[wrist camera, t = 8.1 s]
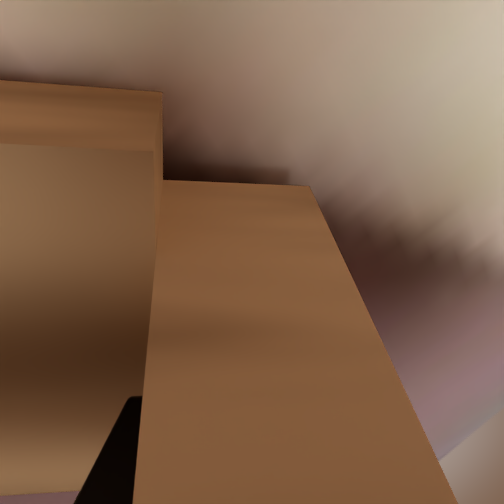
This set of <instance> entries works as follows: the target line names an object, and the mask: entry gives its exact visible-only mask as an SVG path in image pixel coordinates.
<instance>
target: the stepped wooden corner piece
mask: <svg viewBox="0 0 504 504" xmlns="http://www.w3.org/2000/svg"><path fill="white" fill-rule="evenodd" d="M142 395H143V399H142V409H141V420H140V431H139V441H138V452H137V462H136V473H135V484H134V494H133V504H458V503H457V501H456V498H455V496H454V494H453V492H452V490H451V488H450V486H449V483H448V481H447V479H446V477H445V475H444V473H443V470H442V468H441V466H440V464H439V462H438V460H437V458H436V456H435V453H434V451H433V449H432V447H431V445H430V443H429V441H428V438H427V436H426V434H425V432H424V430H423V428H422V426H421V423H420V421H419V419H418V417H417V415H416V413H415V411H414V409H413V406H412V404H411V402H410V400H409V398H408V396H407V394H406V391H405V389H404V387H403V385H402V383H401V381H400V379H399V377H398V374H397V372H396V370H395V368H394V366H393V364H392V362H391V359H390V357H389V355H388V353H387V351H386V349H385V347H384V344H383V342H382V340H381V338H380V336H379V334H378V332H377V330H376V327H375V325H374V323H373V321H372V319H371V317H370V315H369V312H368V310H367V308H366V306H365V304H364V302H363V300H362V297H361V295H360V293H359V291H358V289H357V287H356V285H355V283H354V280H353V278H352V276H351V274H350V272H349V270H348V268H347V265H346V263H345V261H344V259H343V257H342V255H341V253H340V251H339V248H338V246H337V244H336V242H335V240H334V238H333V236H332V233H331V231H330V229H329V227H328V225H327V223H326V221H325V218H324V216H323V214H322V212H321V210H320V208H319V206H318V204H317V201H316V199H315V197H314V195H313V193H312V191H311V189H310V186H293V185H270V184H246V183H223V182H200V181H176V180H163V125H162V92H155V91H141V90H128V89H114V88H101V87H87V86H73V85H60V84H46V83H32V82H19V81H5V80H0V496H4V495H20V494H36V493H52V492H67V491H80V490H81V488H82V486H83V484H84V482H85V480H86V478H87V476H88V474H89V472H90V471H91V469H92V467H93V465H94V463H95V461H96V459H97V457H98V455H99V453H100V451H101V449H102V447H103V445H104V443H105V441H106V439H107V437H108V435H109V434H110V432H111V430H112V428H113V426H114V424H115V422H116V420H117V418H118V416H119V414H120V412H121V410H122V408H123V406H124V404H125V402H126V401H127V399H128V398H129V397H131V396H142Z"/></svg>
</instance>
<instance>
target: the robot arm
mask: <svg viewBox="0 0 504 504" xmlns="http://www.w3.org/2000/svg"><path fill="white" fill-rule="evenodd" d="M142 399H143V395H142V396H131V397H129V398H128V399H127V401H126V402H125V404H124V406H123V408H122V410H121V412H120V414H119V416H118V418H117V420H116V422H115V424H114V426H113V428H112V430H111V432H110V434H109V435H108V437H107V439H106V441H105V443H104V445H103V447H102V449H101V451H100V453H99V455H98V457H97V459H96V461H95V463H94V465H93V467H92V469H91V471H90V472H89V474H88V476H87V478H86V480H85V482H84V484H83V486H82V488H81V490H80V492H79V494H78V496H77V498H76V500H75V502H74V504H133V494H134V484H135V473H136V462H137V452H138V441H139V431H140V420H141V409H142Z"/></svg>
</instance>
